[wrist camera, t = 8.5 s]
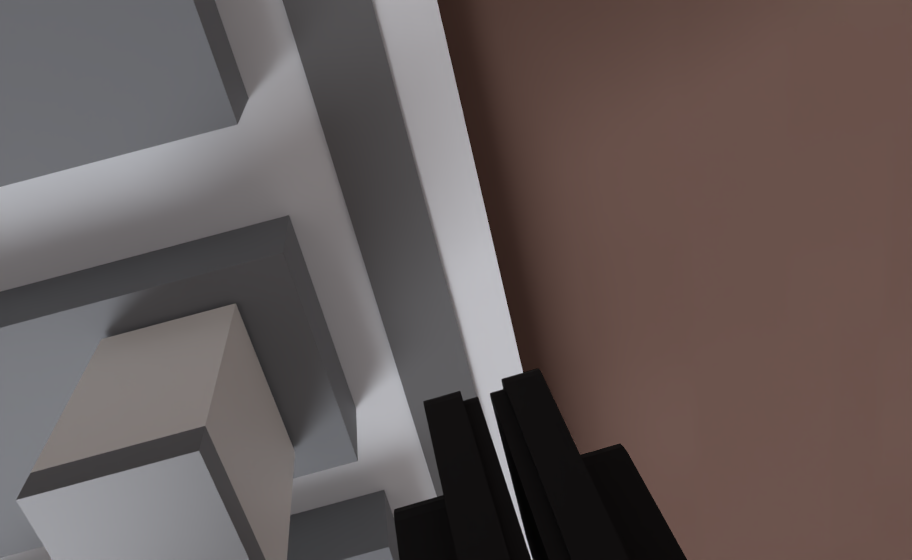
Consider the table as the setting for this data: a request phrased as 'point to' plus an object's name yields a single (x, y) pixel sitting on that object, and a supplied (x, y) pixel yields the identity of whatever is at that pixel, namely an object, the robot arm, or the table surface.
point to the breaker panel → (304, 185)
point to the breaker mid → (167, 451)
